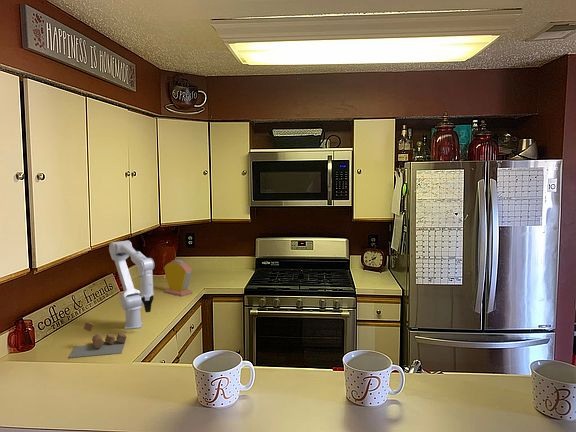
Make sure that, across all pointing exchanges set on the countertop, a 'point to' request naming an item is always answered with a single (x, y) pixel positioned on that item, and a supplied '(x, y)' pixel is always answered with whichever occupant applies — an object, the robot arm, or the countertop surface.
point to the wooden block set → (109, 338)
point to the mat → (96, 350)
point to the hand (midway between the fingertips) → (148, 311)
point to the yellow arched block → (178, 277)
